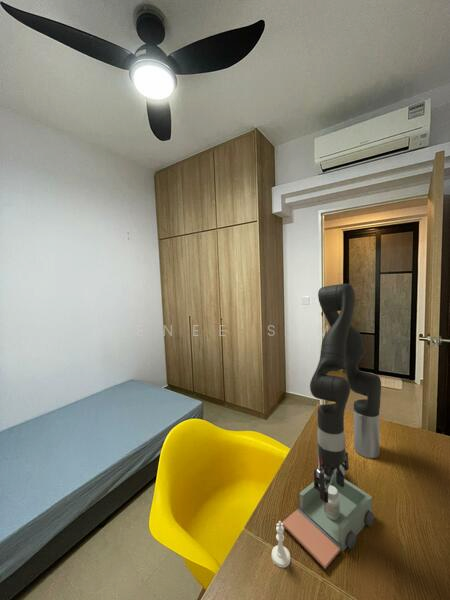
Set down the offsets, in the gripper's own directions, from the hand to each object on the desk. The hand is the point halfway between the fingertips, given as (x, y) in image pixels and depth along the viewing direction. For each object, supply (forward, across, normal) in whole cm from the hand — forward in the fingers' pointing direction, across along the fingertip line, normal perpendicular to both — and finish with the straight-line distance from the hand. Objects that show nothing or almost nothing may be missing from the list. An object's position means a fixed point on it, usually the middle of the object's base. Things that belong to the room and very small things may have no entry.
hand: (332, 492), depth 74 cm
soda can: (+9, -15, -11) cm, 20 cm away
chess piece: (+8, +20, -2) cm, 22 cm away
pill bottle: (+7, 0, 0) cm, 7 cm away
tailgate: (+7, +7, 0) cm, 10 cm away
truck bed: (+8, -2, 0) cm, 8 cm away
